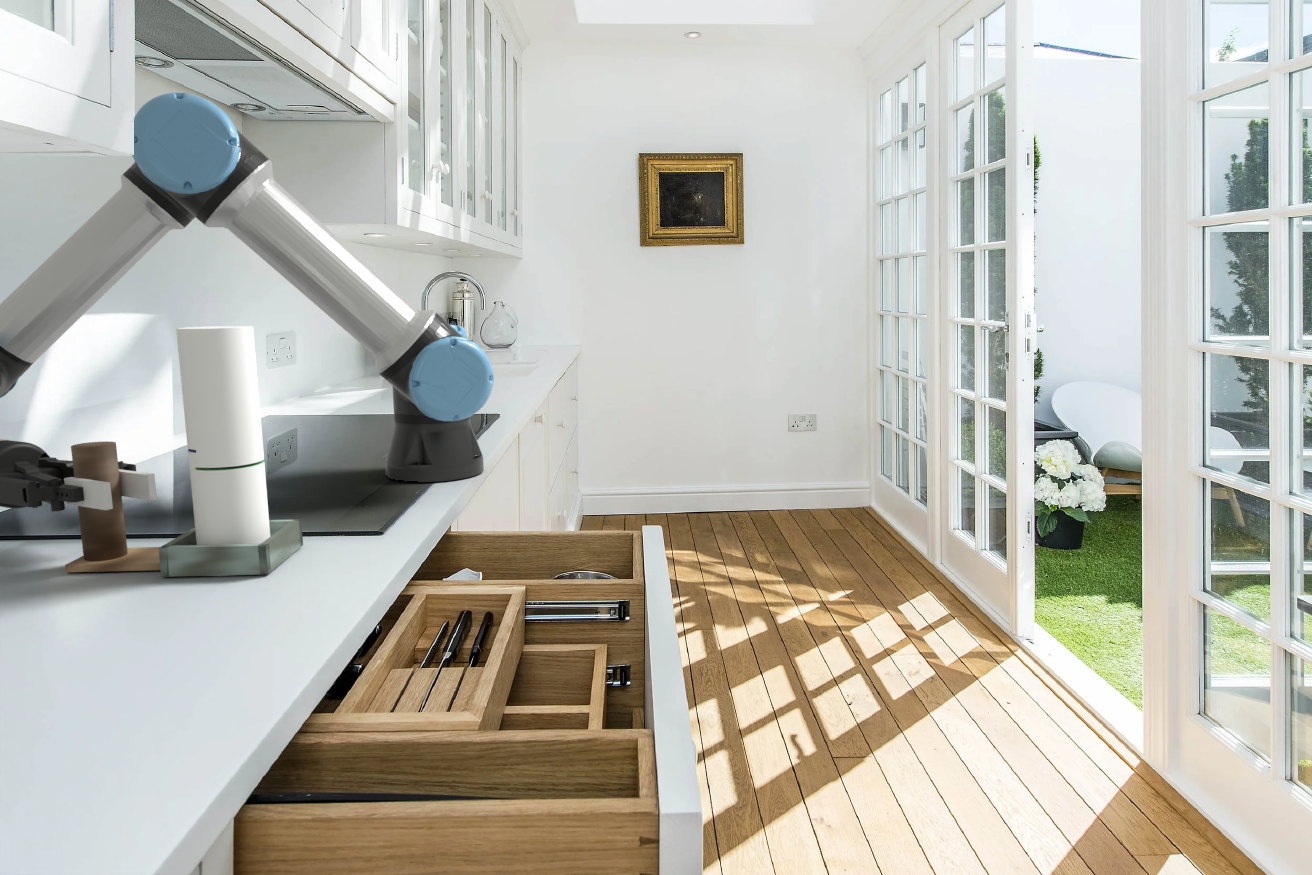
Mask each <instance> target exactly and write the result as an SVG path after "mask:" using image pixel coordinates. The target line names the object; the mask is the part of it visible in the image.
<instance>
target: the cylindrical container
mask: <svg viewBox="0 0 1312 875" xmlns="http://www.w3.org/2000/svg"><path fill="white" fill-rule="evenodd" d="M175 332H176V339H177V340H176V341H177V348H178V349H177V350H178V360H179V369H180V370H179V372H180V381H181V393H182V402H183V404H182V405H183V413H184V414H183V415H184V422H185V433H186V444H187V455H188V456H187V458H188V464H189V465H188V466H189V467H188V468H189V476H190V488H191V497H192V498H191V499H192V507H193V518H194V519H193V520H194V527H195V531H196V541H197V545H220V544H261V543H262V542H264V541H265V540H266V539H268V538H269V537H270V526H269V520H270V515H269V504H268V489H267V478H266V466H265V460H264V459H265V453H264V442H263V439H264V438H263V428H262V419H261V418H262V415H261V414H262V413H261V406H260V405H261V403H260V391H259V379H258V368H257V366H258V365H257V356H256V346H255V345H256V342H255V332H254V326H252V325H251V326H250V325H220V326H219V325H216V326H215V325H214V326H212V325H211V326H190V327H189V326H186V327H185V326H184V327H176V331H175Z"/></svg>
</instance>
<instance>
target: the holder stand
mask: <svg viewBox="0 0 1312 875" xmlns="http://www.w3.org/2000/svg"><path fill="white" fill-rule="evenodd" d="M117 450H118V448H117V442H116V441H107V440H106V441H91V442H83V443H77V444H73V445H71V446H70V452H71V459H72V460H71V461H73V469H74V477H75V478H83V479H90V480H97V481H104V482H110V486H111V495H112V505H113V509H109V510H101V509H95V508H89V507H83V506H77V511H78V520H79V528H80V535H81V537H80V538H81V545H82V553H83V554H82V556H79V557H78V558H75V559H73V560H72V561H69V562H68V563H66V564H65V565H64V568H65V572H66V573H93V572H129V571H130V572H133V571H134V572H136V571H137V572H138V571H139V572H140V571H141V572H142V571H160V576H161V578H163V577H166V578H167V577H201V576H202V577H204V576H205V577H206V576H208V577H210V576H239V575H241V576H243V575H244V576H245V575H246V576H247V575H269V574H270V573H271V572H273V571H274V570H275V569H276V568H277V567H279V566H280V565H281V564H282V563H284V562H285V561H286V560H287V559H288V558H289V557H291V556H292V555H293V554H294V553H295V552H297V551H299V549H301V548H302V547H303V546H304V541H303V540H304V539H303V526H302V524H303V523H302V519H298V518H297V519H269V526H270V537H269V538H268V539H266V540H265V541H264V542H262V543H261V544H220V545H197V541H196V531H195V526H194V527H193V528H190V529H189V530H188V531H185V532H184V533H182V534H181V535H178V536H177V537H175V538H173V539H172V540H170V541H168V542H167V543H165V544H163V545H161V546H147V547H146V546H145V547H143V546H142V547H140V546H139V547H128V542H127V534H126V524H125V515H124V507H123V505H124V504H123V496H122V495H121V485H120V476H119V467H118V462H119V460H118V451H117Z"/></svg>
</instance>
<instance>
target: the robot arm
mask: <svg viewBox="0 0 1312 875" xmlns="http://www.w3.org/2000/svg"><path fill="white" fill-rule="evenodd" d="M136 112H137V113H136V114H135V116H134V117H133V119H134V155H132V154H131V156H132V157H133V160H134V162H133V163H132V164H131V166H129V168H127V170H126V171H125V172H123V173H122V174H121V175H120V180H121V181H120V182H121V187H120V189H119V190H117V192H115V194H114V195H112V196H111V197H110V198H109V199H108V200H107V201H106V202H105V203H104V204H103V205H102V206H101V207H100V208H99V209H98V210H97V211H96V212H95V213H94V214H92V216H91V217H90V218H89V219H87V220H86V221H85V222H84V223H83V224H82V225H81V226H80V227H79V228H77V230H76V231H75V232H74V233H72V235H71V236H70V237H68V239H66V241H64V242H63V244H62V245H60V246H59V247H58V248H57V249H56V250H54V252H53V253H52V254H51V255H50V256H49V257H48V258H47V259H46V260H45V261H43V263H42V264H41V265H39V266H38V267H37V269H35V270H34V271H33V272H32V273H31V274H30V275H29V276H27V278H26V279H25V280H24V281H23V282H22V283H20V284H19V285H18V286H17V288H15V289H14V290H13V292H11V293H10V294H9V295H8V296H7V297H6V298H5V299H4V300H3V301H2V302H0V399H1V398H4V397H5V396H6V395H7V394H8V393H10V392H11V391H12V390H13V389H14V388H15V387H16V386H17V384H18V382H19V379H20V378H21V377H22V376H23V375H24V374H25V373H26V372H27V371H28V370H29V369H30V367H32V365H33V364H34V363H36V361H38V359H39V358H41V356H42V355H44V353H45V352H47V351H48V350H49V349H50V348H51V347H52V346H53V344H54V343H56V342H57V341H58V340H59V339H60V338H61V337H62V336H63V335H64V334H65V333H66V332H67V331H68V330H69V329H71V327H72V326H73V325H74V324H75V323H77V322H78V320H79V319H81V317H83V316H84V315H85V314H86V313H87V312H88V311H89V310H90V309H91V308H92V307H93V306H94V305H95V304H96V303H97V302H98V301H99V300H100V299H102V297H103V296H104V295H105V294H106V293H107V292H108V291H109V290H110V289H111V288H112V287H113V286H115V285H116V284H117V283H118V281H120V280H121V279H122V278H123V277H124V276H125V275H126V273H128V272H129V271H130V270H132V268H133V267H134V266H135V265H136V264H137V263H138V262H139V261H140V260H141V259H143V257H144V256H145V255H147V253H148V252H150V251H151V249H153V247H155V246H156V244H158V243H159V242H160V241H161V240H162V238H164V237H165V236H166V235H167V234H168V233H169V232H170V231H172V230H185V228H186V227H187V226H188V225H189V224H190V223H191V222H192V221H193V220H194V219H195V218H196V219H197V221H200V223H201V224H203V225H204V226H205V227H207V228H224V229H227V230H228V231H230V233H232V234H233V235H234V236H235V237H236V238H238V239H239V240H240V241H241V242H242V243H244V244H245V246H247V247H248V248H249V249H250V250H252V251H253V252H254V253H255V254H256V255H257V256H259V257H260V258H261V259H262V260H263V261H264V262H265V263H266V264H268V265H269V266H270V267H271V268H273V269H274V270H275V271H276V272H277V273H278V274H279V275H280V276H282V277H283V278H284V279H285V280H287V282H288V283H290V284H291V285H292V286H293V287H294V288H295V289H297V290H298V291H299V292H300V293H301V294H302V295H303V296H305V297H306V298H307V299H308V300H309V301H311V302H312V303H313V304H314V305H315V306H316V307H318V308H319V309H320V310H322V311H323V313H324V314H326V315H327V316H328V317H329V318H330V319H331V320H333V321H334V322H335V323H336V324H337V325H338V326H340V327H341V329H343V330H344V331H346V332H347V333H348V334H349V335H350V336H352V337H353V338H354V339H355V340H356V341H357V342H358V343H359V344H360V345H362V347H364V348H365V349H366V350H367V351H369V352H370V353H371V354H372V355H373V357H374V362H375V363H374V364H375V372H376V373H377V374H379V375H380V376H381V377H382V378H383V379H384V380H385V381H387V383H389V384H390V386H392V399H393V416H394V417H393V418H394V419H393V420H394V422H393V423H394V429H393V433H392V436H391V439H390V442H389V445H388V446H389V447H388V449H387V450H388V451H387V454H386V458H385V462H384V463H385V464H384V466H385V467H384V469H385V476H386V475H387V476H388V477H389V478H388V477H387V478H388V479H390V478H393V479H397V480H396V481H398V480H405V481H404V482H407V481H418V482H417V483H436V482H448V481H456V480H462V479H466V478H471V477H475V476H477V475H479V474H482V473H483V472H484V471H485V470H484V469H485V466H484V456H483V453H482V450H481V448H480V445H479V442H478V440H477V437H476V435H475V431H474V429H473V427H472V422H471V417H472V416H473V415H476V414H477V413H478V412H479V411H480V410H481V409H482V408H483V407H484V406H485V405H486V403H487V402H488V400H489V399H490V396H491V394H492V391H493V387H494V370H493V366H492V364H491V361H490V358H489V357H488V356H487V353H486V352H485V350H483V349H482V347H480V345H478V344H477V343H476V342H474V341H471V340H470V338H468V336H467V335H468V334H467V331H466V329H465V328H464V327H463V326H461V325H455V324H449V323H448V322H447V321H446V320H445V319H444V318H443V317H442V316H441V315H439V314H438V313H437V312H436V311H435V310H434V309H429V310H428V309H424V310H423V309H421V310H420V309H417V308H416V307H414V306H413V304H411V303H410V302H409V301H408V300H407V299H406V298H405V297H403V296H402V294H400V293H399V292H398V291H397V290H396V289H395V288H393V287H392V286H391V284H389V283H388V282H387V281H386V280H385V279H384V278H383V277H381V276H380V275H379V273H377V272H376V271H375V270H374V269H373V268H371V267H370V265H368V264H367V263H366V262H365V261H364V260H363V259H362V258H361V257H360V256H358V254H356V253H355V252H354V251H353V250H352V249H351V248H350V247H349V246H347V245H346V244H345V243H344V242H343V241H342V240H341V239H340V238H339V237H338V236H336V235H335V234H334V233H333V232H332V231H331V230H330V229H329V228H327V227H326V226H325V225H324V224H323V223H322V222H321V221H320V220H319V219H318V218H317V217H315V216H314V215H313V214H312V213H311V212H310V211H309V210H308V209H307V208H306V207H305V206H303V205H302V203H301V202H299V201H298V200H297V199H296V198H295V197H294V196H292V194H290V192H288V191H287V190H286V189H285V188H283V186H281V185H280V184H279V183H278V182H277V181H276V180H275V178H274V172H273V170H274V169H273V162H272V160H271V159H269V158H268V157H267V155H265V154H264V153H263V152H262V151H261V150H260V149H258V148H257V147H256V145H255V144H254V143H252V142H251V141H250V140H249V139H248V138H247V137H245V135H243V133H241V132H240V131H239V130H238V129H237V128H236V127H235V124H234V123H233V120H231V118H230V116H229V115H228V114H227V113H226V111H224V110H223V109H222V108H221V107H219V106H218V105H216V103H214V102H212V101H211V100H208V99H206V98H203V96H202V97H201V96H200V95H196V94H193V93H189V92H168V93H164V94H160V95H157V96H155V97H153V98H151V99H150V100H148V101H146V102H145V103H144V104H143V105H142V106H141V107H140V108H139V109H138V111H136ZM118 467H119V476H120V485H121V495H122V497H124V498H130V499H132V498H133V499H139V500H145V501H153V500H157V499H158V496H157V486H156V485H157V484H156V478H155V477H156V475H155V473H152V472H151V473H150V472H143V471H137V464H133V463H127V462H124V461H123V460H120V461H118ZM393 479H392V480H393ZM43 502H44V503H47V504H49V505H50V509H51V510H50V511H51V512H61V511H64V510H66V507H65V503H66V505H72V506H77V507H78V506H83V507H89V508H95V509H101V510H109V509H113V505H112V495H111V486H110V482H104V481H97V480H90V479H83V478H75V477H74V469H73V461H72V460H65V459H58V458H56V457H51V456H50V455H49V454H48V453H47V452H46V451H45V450H44V449H43V448H41V447H40V446H38V445H36V444H33V443H31V442H28V441H27V442H26V441H18V440H17V441H16V440H12V439H11V440H10V439H4V438H0V507H1V508H2V507H3V508H6V509H22V508H33V509H37V508H39V507H41V506H43Z"/></svg>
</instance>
